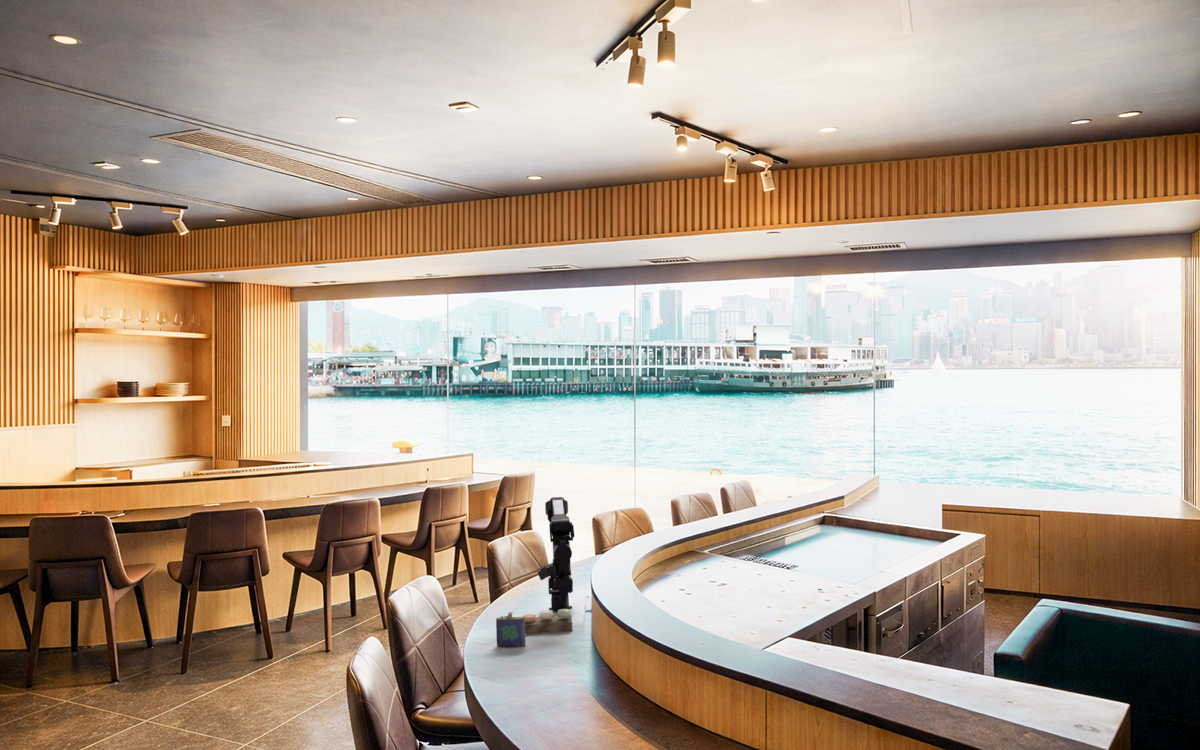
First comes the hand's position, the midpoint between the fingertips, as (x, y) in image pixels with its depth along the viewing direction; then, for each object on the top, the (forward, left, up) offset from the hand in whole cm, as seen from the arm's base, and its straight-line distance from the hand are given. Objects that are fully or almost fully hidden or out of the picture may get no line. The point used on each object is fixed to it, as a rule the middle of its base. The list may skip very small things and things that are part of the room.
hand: (563, 602), depth 245 cm
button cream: (+4, -5, -5) cm, 7 cm away
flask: (+23, -3, -9) cm, 25 cm away
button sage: (0, 0, -4) cm, 4 cm away
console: (+4, -4, -9) cm, 11 cm away
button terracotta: (+8, -9, -6) cm, 13 cm away
